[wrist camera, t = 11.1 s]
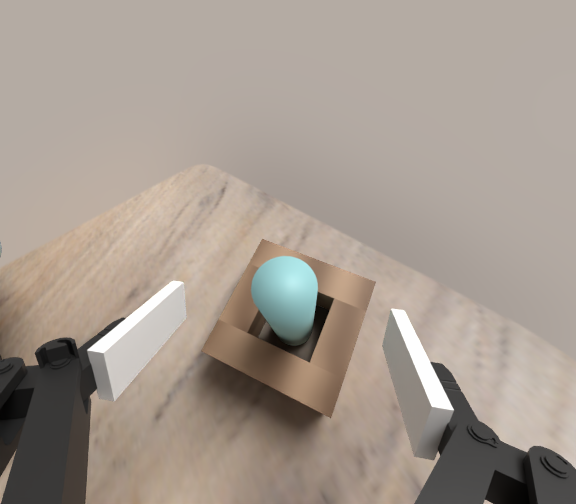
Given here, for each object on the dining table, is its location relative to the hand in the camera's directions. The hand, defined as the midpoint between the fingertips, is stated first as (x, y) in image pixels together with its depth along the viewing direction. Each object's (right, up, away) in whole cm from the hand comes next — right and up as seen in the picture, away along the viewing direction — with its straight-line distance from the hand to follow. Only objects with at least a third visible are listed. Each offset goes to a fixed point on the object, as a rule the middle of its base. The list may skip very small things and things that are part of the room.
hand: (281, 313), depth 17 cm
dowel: (+1, -4, +12) cm, 13 cm away
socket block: (+1, -4, +12) cm, 12 cm away
